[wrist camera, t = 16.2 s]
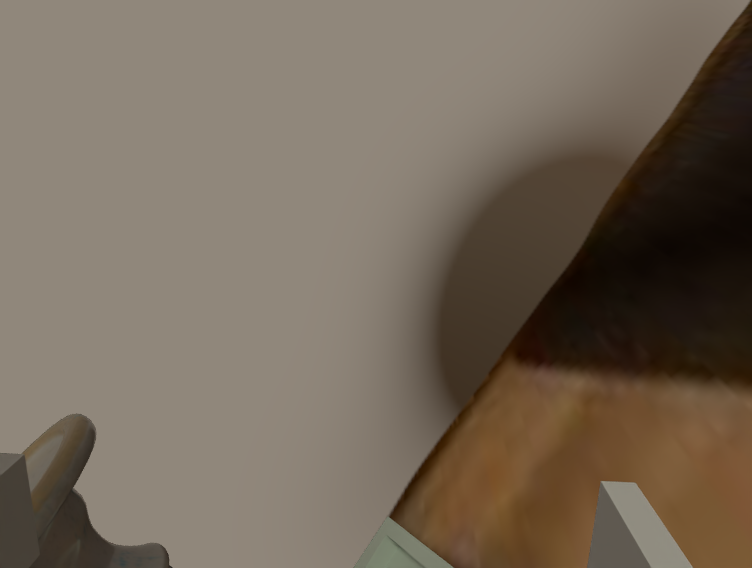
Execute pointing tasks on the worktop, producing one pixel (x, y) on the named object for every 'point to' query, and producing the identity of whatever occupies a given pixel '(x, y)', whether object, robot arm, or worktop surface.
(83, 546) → the candle holder
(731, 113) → the worktop surface
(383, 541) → the tray
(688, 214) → the worktop surface
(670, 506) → the worktop surface
